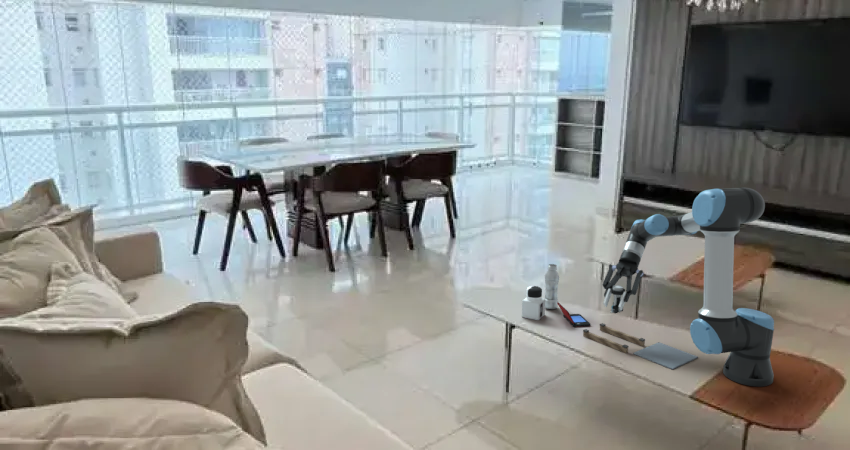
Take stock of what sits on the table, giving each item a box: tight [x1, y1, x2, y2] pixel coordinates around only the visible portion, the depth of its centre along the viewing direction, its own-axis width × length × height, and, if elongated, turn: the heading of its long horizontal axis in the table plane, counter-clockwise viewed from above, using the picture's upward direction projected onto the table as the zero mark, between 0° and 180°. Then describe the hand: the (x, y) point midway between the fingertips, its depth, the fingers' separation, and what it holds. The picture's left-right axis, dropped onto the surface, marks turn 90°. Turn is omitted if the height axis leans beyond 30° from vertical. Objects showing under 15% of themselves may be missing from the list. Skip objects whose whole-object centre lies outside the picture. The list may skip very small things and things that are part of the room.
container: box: [521, 285, 546, 321], centre depth 261 cm, size 8×8×13 cm
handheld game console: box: [557, 301, 591, 328], centre depth 256 cm, size 12×11×7 cm
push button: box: [610, 284, 626, 314], centre depth 233 cm, size 7×5×10 cm
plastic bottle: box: [544, 263, 560, 310], centre depth 269 cm, size 6×7×20 cm
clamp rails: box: [582, 322, 646, 354], centre depth 237 cm, size 20×12×3 cm, turn 36°
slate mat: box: [632, 341, 699, 370], centre depth 223 cm, size 16×16×1 cm
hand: (612, 306), depth 230 cm, fingers closed on push button, 5 cm apart
